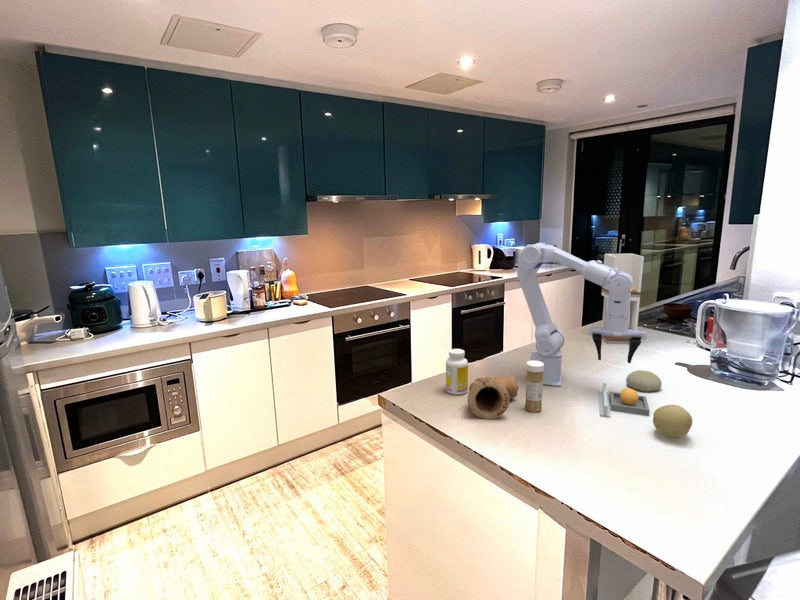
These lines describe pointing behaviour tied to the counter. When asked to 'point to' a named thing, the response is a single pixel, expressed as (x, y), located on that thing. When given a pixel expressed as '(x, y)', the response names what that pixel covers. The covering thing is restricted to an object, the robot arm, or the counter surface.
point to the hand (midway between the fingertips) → (614, 360)
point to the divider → (604, 402)
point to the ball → (629, 396)
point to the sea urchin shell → (643, 381)
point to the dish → (637, 408)
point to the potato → (672, 421)
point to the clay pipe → (491, 395)
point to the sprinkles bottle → (534, 385)
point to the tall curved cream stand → (635, 269)
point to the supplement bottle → (456, 372)
